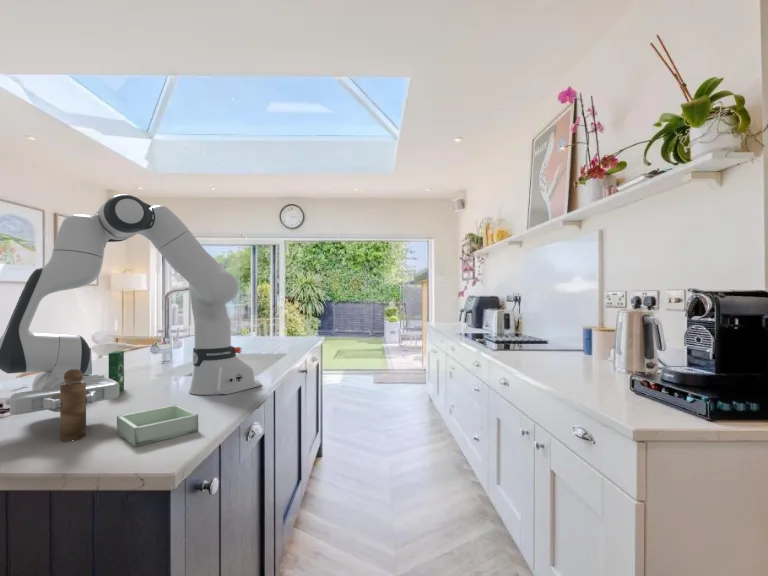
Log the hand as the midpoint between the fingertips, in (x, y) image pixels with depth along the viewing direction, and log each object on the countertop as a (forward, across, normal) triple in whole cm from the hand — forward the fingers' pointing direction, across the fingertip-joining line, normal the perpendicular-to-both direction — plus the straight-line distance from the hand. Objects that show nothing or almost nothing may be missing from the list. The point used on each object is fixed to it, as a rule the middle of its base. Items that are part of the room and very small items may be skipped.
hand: (74, 402), depth 91 cm
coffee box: (-44, +19, +8) cm, 49 cm away
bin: (+9, +14, +8) cm, 19 cm away
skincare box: (-49, +10, +8) cm, 51 cm away
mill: (-1, 0, +8) cm, 8 cm away
